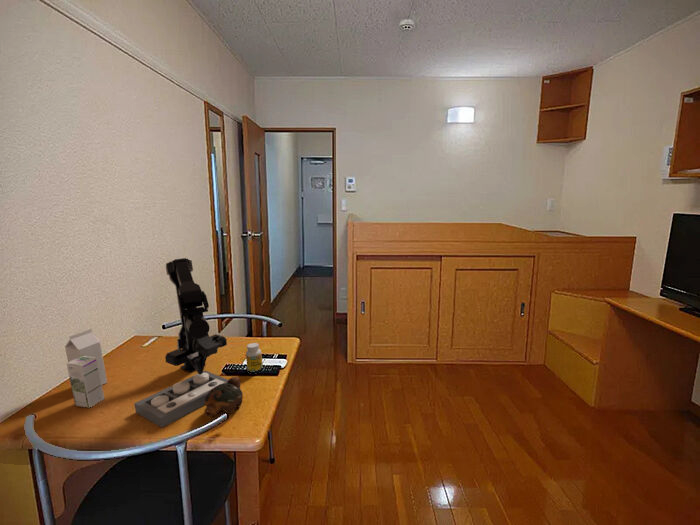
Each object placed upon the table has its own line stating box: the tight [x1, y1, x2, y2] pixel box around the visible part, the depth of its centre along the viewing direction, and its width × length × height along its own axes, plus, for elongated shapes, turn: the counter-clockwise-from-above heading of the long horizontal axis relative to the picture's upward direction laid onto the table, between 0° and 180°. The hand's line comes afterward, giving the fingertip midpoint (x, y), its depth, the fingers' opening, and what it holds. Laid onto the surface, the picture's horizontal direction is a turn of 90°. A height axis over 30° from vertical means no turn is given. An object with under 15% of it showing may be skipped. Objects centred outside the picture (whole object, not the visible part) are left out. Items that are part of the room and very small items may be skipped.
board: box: [134, 370, 229, 428], centre depth 123 cm, size 14×24×4 cm, turn 145°
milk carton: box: [64, 328, 108, 386], centre depth 133 cm, size 7×7×19 cm
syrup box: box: [66, 356, 105, 409], centre depth 123 cm, size 6×6×14 cm
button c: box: [192, 373, 209, 386], centre depth 130 cm, size 5×5×2 cm
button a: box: [151, 395, 169, 408], centre depth 119 cm, size 5×5×2 cm
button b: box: [172, 381, 190, 395], centre depth 124 cm, size 5×5×2 cm
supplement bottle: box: [245, 342, 264, 372], centre depth 141 cm, size 5×5×10 cm
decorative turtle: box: [203, 376, 244, 418], centre depth 117 cm, size 10×15×8 cm, turn 167°
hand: (200, 373), depth 129 cm, fingers closed
